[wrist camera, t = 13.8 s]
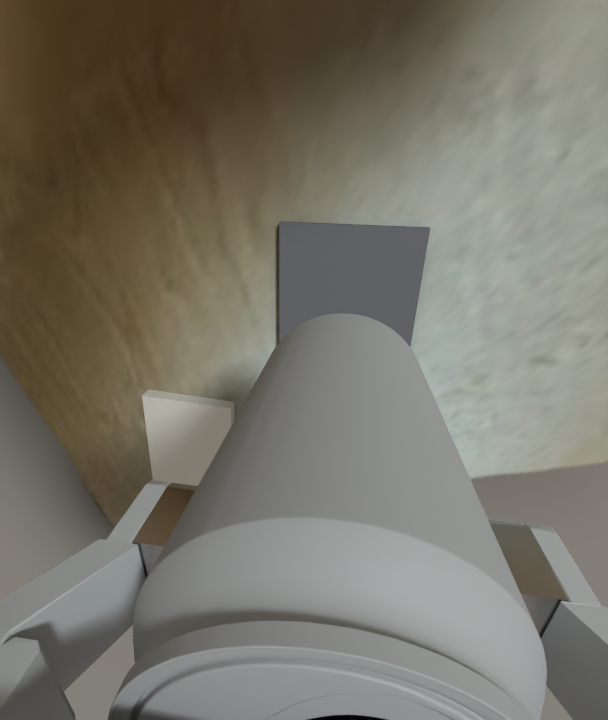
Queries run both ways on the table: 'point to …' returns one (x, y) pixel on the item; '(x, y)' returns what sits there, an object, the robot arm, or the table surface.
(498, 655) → the beverage can
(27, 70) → the table surface
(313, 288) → the mat
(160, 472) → the tile
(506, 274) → the table surface
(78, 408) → the table surface
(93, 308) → the table surface
